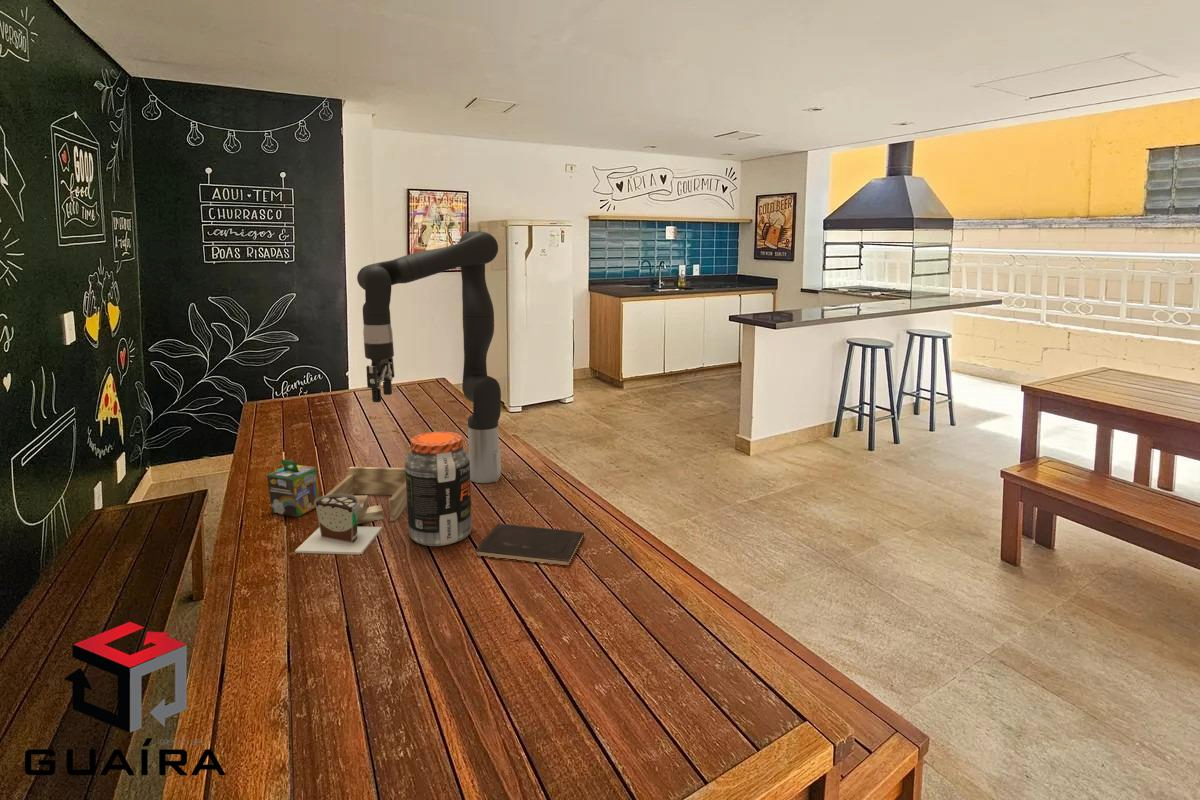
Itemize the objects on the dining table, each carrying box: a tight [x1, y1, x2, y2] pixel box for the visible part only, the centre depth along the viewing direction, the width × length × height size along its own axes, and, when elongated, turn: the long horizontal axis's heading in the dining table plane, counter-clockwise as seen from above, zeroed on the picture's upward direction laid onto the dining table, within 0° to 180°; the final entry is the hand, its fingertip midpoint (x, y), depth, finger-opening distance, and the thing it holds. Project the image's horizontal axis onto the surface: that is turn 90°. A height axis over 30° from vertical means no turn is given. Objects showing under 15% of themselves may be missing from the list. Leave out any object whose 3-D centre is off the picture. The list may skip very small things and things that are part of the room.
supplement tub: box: [404, 431, 473, 547], centre depth 165 cm, size 16×16×26 cm
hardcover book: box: [474, 522, 585, 565], centre depth 162 cm, size 16×23×2 cm
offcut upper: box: [354, 494, 369, 518], centre depth 174 cm, size 8×4×3 cm, turn 10°
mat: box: [294, 525, 383, 556], centre depth 164 cm, size 16×14×1 cm
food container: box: [314, 494, 361, 543], centre depth 164 cm, size 12×6×10 cm, turn 71°
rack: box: [324, 466, 407, 522], centre depth 184 cm, size 19×19×8 cm
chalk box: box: [266, 458, 321, 518], centre depth 180 cm, size 9×9×15 cm
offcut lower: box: [357, 504, 385, 525], centre depth 175 cm, size 12×4×3 cm, turn 118°
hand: (382, 398), depth 183 cm, fingers open, 8 cm apart
